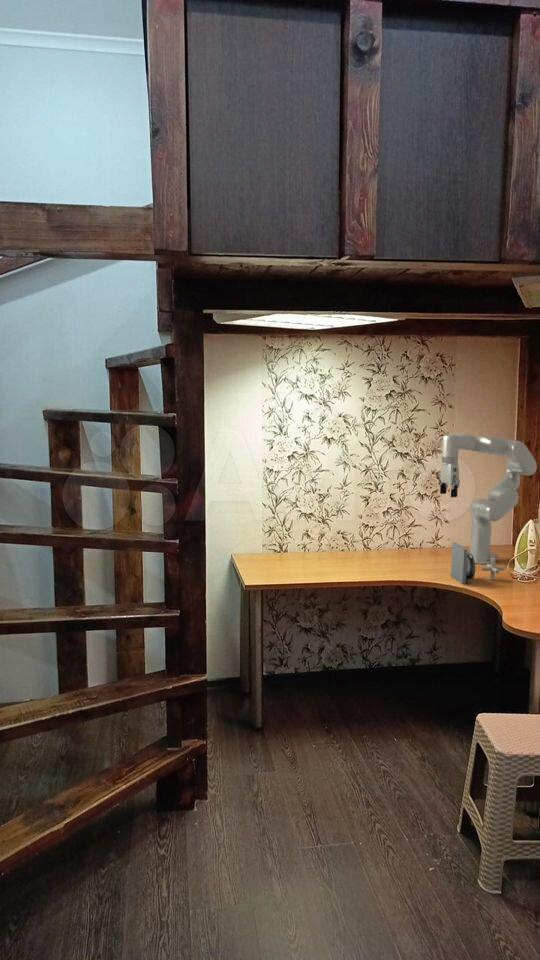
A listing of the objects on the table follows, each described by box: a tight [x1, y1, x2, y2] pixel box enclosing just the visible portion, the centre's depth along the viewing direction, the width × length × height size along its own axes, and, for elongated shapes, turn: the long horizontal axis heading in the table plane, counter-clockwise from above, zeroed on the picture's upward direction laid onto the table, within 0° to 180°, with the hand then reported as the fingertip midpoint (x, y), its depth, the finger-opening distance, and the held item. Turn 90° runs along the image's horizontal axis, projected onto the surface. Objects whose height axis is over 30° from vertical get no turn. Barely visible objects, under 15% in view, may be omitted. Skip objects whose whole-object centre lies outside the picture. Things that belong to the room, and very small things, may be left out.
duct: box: [466, 552, 476, 579], centre depth 296 cm, size 4×12×12 cm, turn 7°
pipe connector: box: [480, 558, 505, 581], centre depth 298 cm, size 10×10×10 cm
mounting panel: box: [450, 541, 473, 585], centre depth 296 cm, size 6×13×16 cm, turn 7°
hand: (448, 495), depth 318 cm, fingers open, 9 cm apart
